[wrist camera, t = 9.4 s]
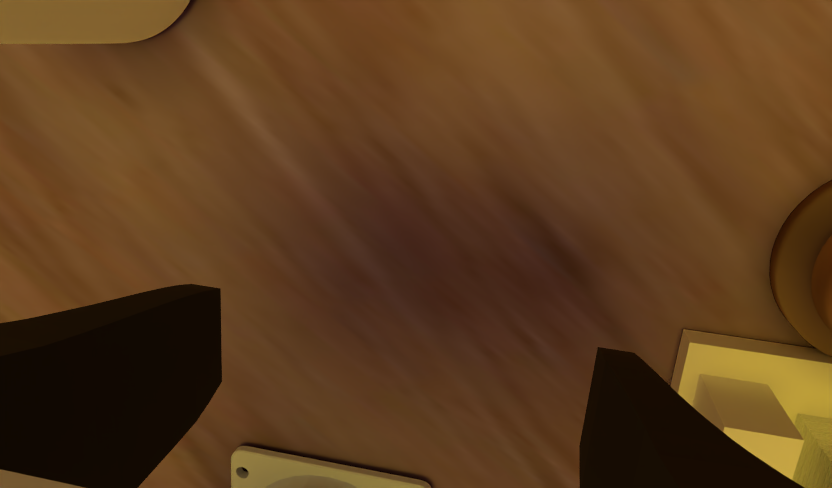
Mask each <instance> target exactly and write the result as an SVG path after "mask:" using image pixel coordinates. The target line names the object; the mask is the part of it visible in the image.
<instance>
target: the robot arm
mask: <svg viewBox="0 0 832 488" xmlns="http://www.w3.org/2000/svg"><path fill="white" fill-rule="evenodd" d="M221 382H222V364H221V298H220V288H213V287H207V286H200V285H194V284H187V285H177V286H171V287H165V288H161V289H156V290H151V291H147V292H143V293H139V294H134V295H130V296H126V297H122V298H118V299H114V300H110V301H106V302H102V303H98V304H94V305H89V306H85V307H80V308H76V309H71V310H66V311H62V312H57V313H53V314H48V315H44V316H39V317H34V318H29V319H24V320H18V321H12V322H6V323H0V488H138V487H139V485H140V484H141V483H142V482H143V481H144V480H145V479H146V478H147V477H148V475H149V474H150V473H151V472H152V471H153V470H154V469H155V468H156V467H157V465H158V464H159V463H160V462H161V461H162V460H163V459H164V458H165V456H166V455H167V454H168V453H169V452H170V451H171V450H172V449H173V447H174V446H175V445H176V444H177V443H178V442H179V441H180V439H181V438H182V437H183V436H184V435H185V434H186V433H187V431H188V430H189V429H190V428H191V427H192V426H193V424H194V423H195V422H196V421H197V419H198V418H199V416H200V415H201V413H202V412H203V411H204V409H205V408H206V406H207V405H208V403H209V402H210V400H211V398H212V397H213V395H214V393H215V392H216V390H217V389H218V387H219V385H220V384H221ZM241 467H244V468H246V469H247V470H248V472H245V471H243V469H242V468H241ZM231 488H431V486H430V485H429V484H428V483H427V482H425V481H422V480H419V479H413V478H408V477H403V476H398V475H393V474H388V473H383V472H378V471H373V470H367V469H362V468H357V467H352V466H347V465H342V464H337V463H332V462H326V461H321V460H316V459H311V458H306V457H301V456H296V455H291V454H285V453H280V452H275V451H270V450H265V449H260V448H255V447H250V446H240V447H238V448H237V449H236V450H235V451H234V453H233V454H232V456H231ZM580 488H804V487H803V486H801V485H800V484H798V483H796V482H795V481H793V480H791V479H790V478H788V477H786V476H785V475H783V474H782V473H780V472H779V471H777V470H776V469H774V468H773V467H771V466H770V465H768V464H767V463H765V462H764V461H762V460H761V459H759V458H758V457H756V456H755V455H753V454H752V453H750V452H749V451H747V450H746V449H745V448H743V447H742V446H741V445H739V444H738V443H736V442H735V441H734V440H732V439H731V438H730V437H729V436H727V435H726V434H725V433H724V432H722V431H721V430H720V429H719V428H717V427H716V426H715V425H714V424H712V423H711V422H710V421H709V420H707V419H706V418H705V417H704V416H703V415H702V414H700V413H699V412H698V411H697V410H696V409H695V408H693V407H692V406H691V405H690V404H689V403H688V402H687V401H686V400H685V399H683V398H682V397H681V396H680V395H679V394H678V393H677V392H676V391H675V390H674V389H673V388H672V387H671V386H669V385H668V384H667V383H666V382H665V381H664V380H663V379H662V378H661V377H660V376H659V375H658V374H657V373H656V372H655V371H654V370H653V369H652V368H651V367H650V366H648V365H647V364H646V363H645V362H644V361H643V360H642V359H641V358H640V357H639V356H637V355H636V354H635V353H632V352H625V351H619V350H613V349H606V348H600V347H598V350H597V355H596V361H595V366H594V371H593V377H592V382H591V388H590V393H589V398H588V404H587V409H586V414H585V420H584V425H583V431H582V436H581V441H580Z"/></svg>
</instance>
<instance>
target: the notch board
mask: <svg viewBox="0 0 832 488" xmlns="http://www.w3.org/2000/svg"><path fill="white" fill-rule="evenodd" d="M670 386H671V387H672V388H673V389H674V390H675V391H676V392H677V393H678V394H679V395H680V396H681V397H682V398H683V399H685V400H686V401H687V402H688V403H689V404H690V405H691V406H692V407H693V408H695V409H696V410H697V411H698V412H699V413H700V414H702V415H703V416H704V417H705V418H706V419H707V420H709V421H710V422H711V423H712V424H714V425H715V426H716V427H717V428H719V429H720V430H721V431H722V432H724V433H725V434H726V435H727V436H729V437H730V438H731V439H732V440H734V441H735V442H736V443H738V444H739V445H741V446H742V447H743V448H745V449H746V450H747V451H749V452H750V453H752V454H753V455H755V456H756V457H758V458H759V459H761V460H762V461H764V462H765V463H767V464H768V465H770V466H771V467H773V468H774V469H776V470H777V471H779V472H780V473H782V474H783V475H785V476H786V477H788V478H790V479H791V480H792V478H793V475H794V472H795V469H796V465H797V462H798V459H799V456H800V453H801V449H802V446H803V443H804V439H803V438H802V436H801V435H800V433H799V432H798V430H797V429H796V427H795V425H794V424H795V421H796V417H797V414H798V413H800V414H806V415H812V416H819V417H825V418H831V419H832V357H831V356H829V355H827V354H825V353H823V352H821V351H820V350H818V349H815V348H808V347H802V346H795V345H788V344H781V343H775V342H768V341H761V340H754V339H748V338H741V337H734V336H727V335H721V334H714V333H707V332H700V331H694V330H687V329H683V333H682V337H681V342H680V346H679V350H678V355H677V359H676V363H675V368H674V372H673V377H672V381H671V385H670Z"/></svg>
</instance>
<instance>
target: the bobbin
mask: <svg viewBox="0 0 832 488" xmlns="http://www.w3.org/2000/svg"><path fill="white" fill-rule="evenodd" d="M770 281H771V288H772V291H773V295H774V298H775V300H776V302H777V305H778V307H779V309H780V310H781V312H782V313H783V315H784V316H785V318H786V319H787V320H788V321H789V322H790V324H791V325H792V326H793V327H794V328H795V329H796V330H797V332H798V333H799V334H800V335H801V336H802V337H803V338H804V339H805V340H806V341H807V342H809V343H810V344H811V345H812V346H814V347H815V348H817V349H818V350H820V351H821V352H823V353H825V354H827V355H829V356H831V357H832V180H831V181H829V182H828V183H826V184H824V185H822V186H821V187H820V188H818V189H817V190H815V191H814V192H813V193H811V194H810V195H809V196H808V197H807V198H805V199H804V200H803V201H802V202H801V203H800V204H799V205H798V206H797V207H796V208H795V210H794V211H793V212H792V213H791V214H790V216H789V217H788V219H787V220H786V221H785V223H784V224H783V226H782V228H781V230H780V232H779V234H778V236H777V238H776V241H775V244H774V247H773V250H772V255H771V260H770Z"/></svg>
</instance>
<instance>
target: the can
mask: <svg viewBox="0 0 832 488" xmlns="http://www.w3.org/2000/svg"><path fill="white" fill-rule="evenodd" d="M189 2H190V0H0V44H112V43H130V42H136V41H141V40H145V39H148V38H150V37H152V36H155V35H157V34H158V33H160V32H162V31H163V30H165V29H166V28H168V27H169V26H170V25H171V24H172V23H173V22H174V21H175V20H176V19H177V18H178V17H179V16H180V15H181V14H182V12H183V11H184V10H185V8H186V7H187V5H188V3H189Z"/></svg>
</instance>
